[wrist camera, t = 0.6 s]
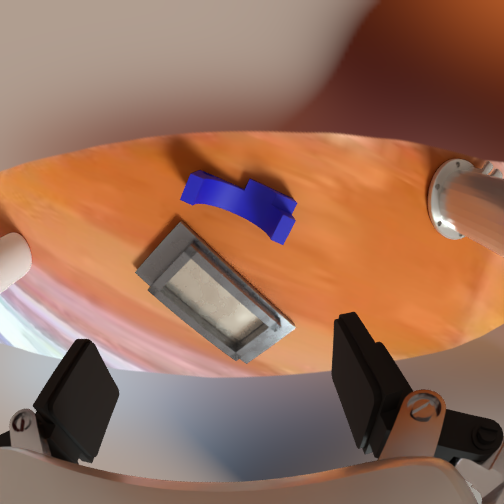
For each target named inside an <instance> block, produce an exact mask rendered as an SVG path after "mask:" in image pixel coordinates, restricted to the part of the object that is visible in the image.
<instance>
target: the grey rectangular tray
mask: <svg viewBox="0 0 504 504" xmlns="http://www.w3.org/2000/svg"><path fill="white" fill-rule="evenodd" d="M135 273H136V274H137V275H138V276H139V277H140V278H142V279H143V280H144V281H145V282H146V283H147V284H148V285H149V286H150V287H149V289H148V291H149V292H150V293H151V294H153V295H154V296H155V297H156V298H157V299H158V300H159V301H161V302H162V303H163V304H164V305H165V306H166V307H168V308H169V309H170V310H171V311H172V312H174V313H175V314H176V315H177V316H178V317H180V318H181V319H182V320H183V321H184V322H186V323H187V324H188V325H189V326H191V327H192V328H193V329H194V330H196V331H197V332H198V333H199V334H201V335H202V336H203V337H205V338H206V339H207V340H208V341H210V342H211V343H212V344H214V345H215V346H216V347H218V348H219V349H220V350H222V351H223V352H224V353H226V354H227V355H228V356H230V357H231V358H232V359H234V360H235V361H237V360H238V359H241V360H242V361H244V362H245V363H246V364H247V363H248V362H250V361H251V360H253V359H254V358H255V357H257V356H258V355H260V354H261V353H263V352H264V351H265V350H267V349H268V348H269V347H271V346H272V345H274V344H275V343H276V342H278V341H279V340H280V339H282V338H283V337H284V336H286V335H287V334H288V333H290V332H291V331H292V330H294V329H295V324H294V323H293V322H292V321H290V320H289V319H288V318H287V317H286V316H285V315H284V314H283V313H282V312H280V311H279V310H278V309H277V308H276V307H275V306H274V305H273V304H272V303H270V302H269V301H268V300H267V299H266V298H265V297H264V296H263V295H262V294H261V293H259V292H258V291H257V290H256V289H255V288H254V287H253V286H252V285H251V284H250V283H249V282H247V281H246V280H245V279H244V278H243V277H242V276H241V275H240V274H239V273H238V272H237V271H235V270H234V269H233V268H232V267H231V266H230V265H229V264H228V263H227V262H226V261H225V260H224V259H223V258H222V257H220V256H219V255H218V254H217V253H216V252H215V251H214V250H213V249H212V248H211V247H210V246H209V245H208V244H207V243H206V242H204V241H203V240H202V239H201V238H200V237H199V236H198V235H197V234H196V233H195V232H194V231H193V230H192V229H191V228H190V227H189V226H188V225H187V224H185V223H184V222H183V221H182V220H181V221H180V223H179V224H178V225H177V226H176V227H175V228H174V229H173V230H172V231H171V232H170V233H169V234H168V236H167V237H166V238H165V239H164V240H163V241H162V242H161V243H160V244H159V245H158V247H157V248H156V249H155V250H154V251H153V252H152V253H151V255H150V256H149V257H148V258H147V259H146V260H145V261H144V263H143V264H142V265H141V266H140V267H139V268H138V269H137V271H136V272H135Z"/></svg>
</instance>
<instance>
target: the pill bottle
mask: <svg viewBox="0 0 504 504" xmlns="http://www.w3.org/2000/svg"><path fill="white" fill-rule="evenodd" d="M31 264H32V256H31V251H30V248H29V246H28V244H27V242H26V240H25V239H24V238H23V237H22V236H21V235H20V234H18V233H15V232H12V233H9V234H7V235H5V236H3V237H1V238H0V294H1V293H2V292H3V291H5V290H6V289H7V288H8V287H10V286H11V285H12V284H13V283H15V282H16V281H17V280H19V279H20V278H21V277H23V276H24V275H25V274H26V273H27V272H28V271H29V270H30V268H31Z"/></svg>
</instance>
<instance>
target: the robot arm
mask: <svg viewBox="0 0 504 504" xmlns="http://www.w3.org/2000/svg"><path fill="white" fill-rule="evenodd" d="M492 168H493V165H492V163H491V162H489V161H487V162H486V164H485V165H484V166H483V168H482V169H478V168H475V167H474V166H473V165H472V164H471V163H470V162H468V161H466V160H463V159H451V160H448V161H446V162H445V163H443V164H442V165H441V166H440V167H439V168H438V169H437V171H436V173H435V174H434V176H433V178H432V181H431V184H430V187H429V193H428V211H429V216H430V219H431V222H432V224H433V226H434V227H435V229H436V230H437V231H438V232H439V233H440V234H441V235H443V236H444V237H446V238H449V239H455V240H457V239H461V238H463V237H465V236H466V237H468V238H470V239H472V240H473V241H475V242H477V243H479V244H481V245H483V246H484V247H486V248H488V249H490V250H492V251H493V252H495V253H497V254H498V255H500V256H502V257H504V179H503V178H502V177H503V176H502V173H501V172H500V171H499V170H498V169H494V171H493V172H492V173H491V175H487V174H488V173H489V172H490V171H491V170H492ZM332 379H333V382H334V385H335V387H336V390H337V393H338V395H339V398H340V401H341V404H342V407H343V409H344V412H345V415H346V418H347V420H348V423H349V426H350V429H351V432H352V434H353V437H354V440H355V443H356V446H357V448H358V449H360V448H363V451H364V454H368V453H372V452H373V454H374V457H376V458H378V460H377V461H372V462H366V463H362V464H357V465H353V466H348V467H343V468H338V469H334V470H329V471H325V472H319V473H313V474H308V475H301V476H294V477H287V478H279V479H271V480H260V481H247V482H221V483H220V482H219V483H218V482H212V483H211V482H182V481H168V480H158V479H149V478H142V477H135V476H128V475H122V474H117V473H111V472H107V471H103V470H98V469H94V468H90V467H85V466H82V465H79V463H78V459H81V460H82V461H85V462H89V463H92V462H93V459H94V457H96V456H97V454H98V451H99V448H100V446H101V443H102V439H103V437H104V434H105V432H106V429H107V426H108V423H109V421H110V418H111V415H112V413H113V410H114V408H115V405H116V402H117V400H118V397H119V390H118V387H117V386H116V384H115V382H114V380H113V378H112V377H111V375H110V373H109V371H108V369H107V367H106V365H105V363H104V362H103V360H102V358H101V356H100V354H99V352H98V350H97V348H96V345H95V344H94V343H92V341H91V340H89V339H76V340H75V342H74V343H73V344H72V346H71V347H70V349H69V350H68V352H67V353H66V355H65V356H64V357H63V359H62V360H61V362H60V363H59V365H58V367H57V368H56V369H55V371H54V372H53V374H52V376H51V377H50V379H49V380H48V382H47V383H46V385H45V386H44V388H43V390H42V391H41V393H40V394H39V396H38V398H37V399H36V401H35V403H34V404H33V407H34V408H35V409H36V411H37V412H36V413H34V412H33V411H32V410H30V409H22V410H19V411H18V412H16V413H15V414H14V415H13V417H12V418H11V420H10V424H9V428H10V430H9V431H7V432H5V433H3V434H1V435H0V504H478V503H477V500H476V498H475V496H474V494H473V493H472V491H471V489H470V487H469V486H468V484H467V482H466V481H468V482H470V483H471V484H472V486H471V487H473V488H474V489H476V490H477V491H478V492H479V493H480V494H481V497H482V504H504V436H503V431H502V428H501V427H500V425H499V424H498V423H497V422H495V421H494V420H491V419H488V418H482V417H478V416H474V415H469V414H465V413H461V412H456V411H452V410H448V409H446V404H445V401H444V399H443V398H442V397H441V396H440V395H439V394H438V393H436V392H434V391H431V390H426V389H421V390H416V391H414V392H413V390H412V389H411V387H410V385H409V384H408V382H407V380H406V379H405V377H404V376H403V374H402V372H401V371H400V369H399V368H398V366H397V365H396V363H395V361H394V360H393V358H392V357H391V355H390V354H389V352H388V351H387V349H386V348H385V346H384V345H383V344H382V343H381V342H376V343H375V342H374V340H373V338H372V337H371V335H370V334H369V332H368V331H367V329H366V328H365V326H364V324H363V323H362V321H361V320H360V318H359V317H358V315H357V314H356V313H355V312H351V313H346V314H340V315H339V319H335V321H334V339H333V358H332ZM465 480H466V481H465Z"/></svg>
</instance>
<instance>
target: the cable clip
mask: <svg viewBox="0 0 504 504" xmlns="http://www.w3.org/2000/svg"><path fill="white" fill-rule="evenodd" d="M180 200H182V201H184V202H186V203H189V204H191V205H194V204H208V205H212V206H216V207H219V208H222V209H225V210H228V211H230V212H232V213H235V214H237V215H239V216H241V217H243V218H245V219H247V220H249V221H250V222H252V223H254V224H255V225H257V226H258V227H259V228H261V229H262V230H263V231H264V232H266V233H267V234H268V236H269V237H270V239H271V240H273V241H275V242H277V243H280V244H282V245H283V244H284V242H285V240H286V238H287V237H288V235H289V233H290V231H291V229H292V227H293V225H294V223H295V221H296V220H295V219H294V217H293V216H292V213H293V211H294V209H295V207H296V205H297V202H296V201H295V200H294V199H293V198H291V197H289V196H286V195H284V194H282V193H280V192H278V191H276V190H274V189H272V188H270V187H268V186H265V185H263V184H261V183H259V182H257V181H255V180H252V179H249V181H248V183H247V185H246V187H245V189H243V188H241V187H238V186H236V185H234V184H232V183H229V182H227V181H225V180H222V179H220V178H218V177H215V176H213V175H211V174H208V173H206V172H204V171H201V170H198V171H196V172H193V173H191V174H190V176H189V179H188V181H187V184H186V186H185V189H184V191H183V193H182V196H181V198H180Z"/></svg>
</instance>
